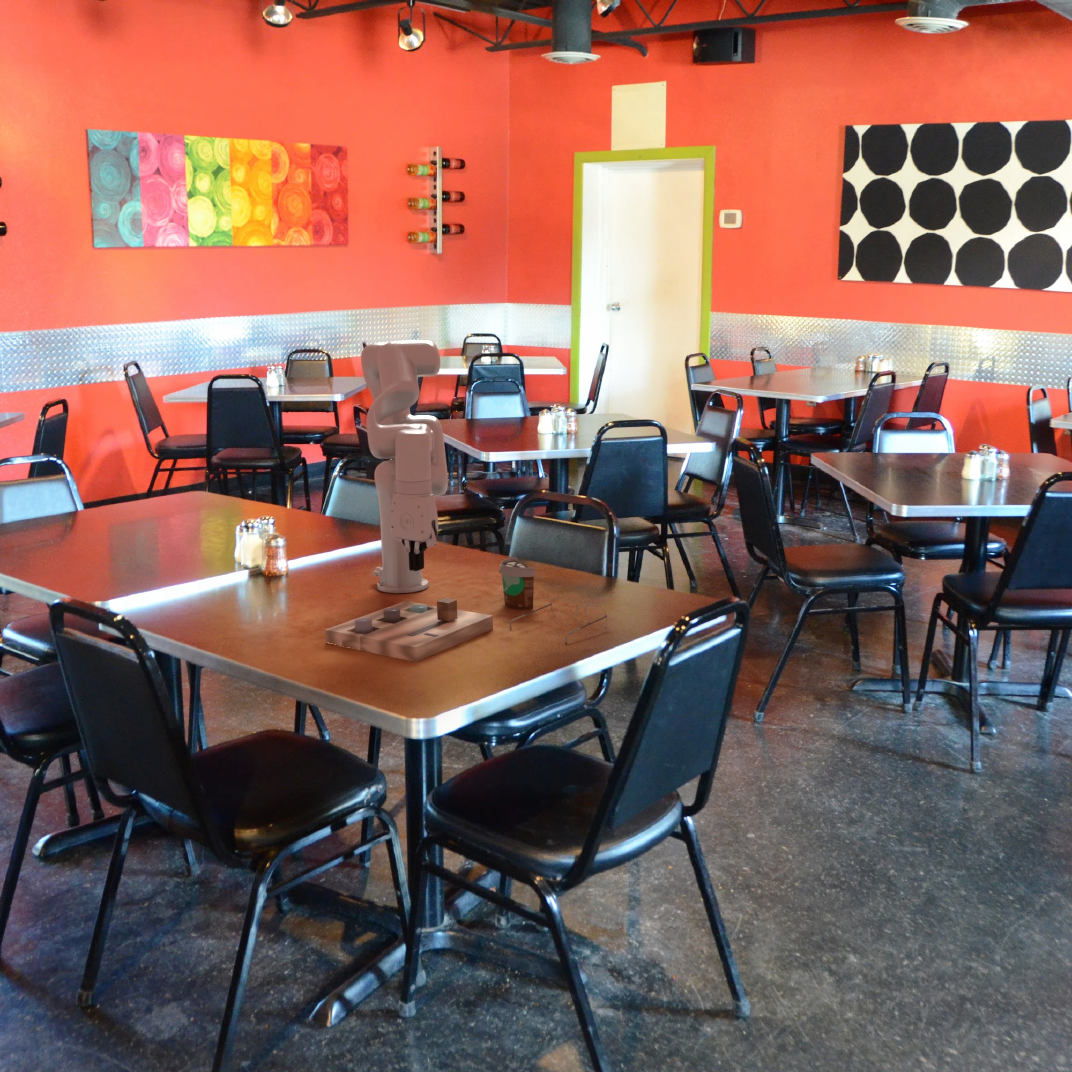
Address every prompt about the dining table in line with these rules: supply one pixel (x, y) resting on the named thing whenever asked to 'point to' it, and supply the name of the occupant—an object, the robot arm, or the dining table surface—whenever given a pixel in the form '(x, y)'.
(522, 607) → the food container
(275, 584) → the dining table surface
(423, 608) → the teal button
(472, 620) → the control panel
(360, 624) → the slate button
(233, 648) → the dining table surface
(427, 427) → the robot arm
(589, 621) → the eyeglasses
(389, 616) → the charcoal button
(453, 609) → the walnut slider
